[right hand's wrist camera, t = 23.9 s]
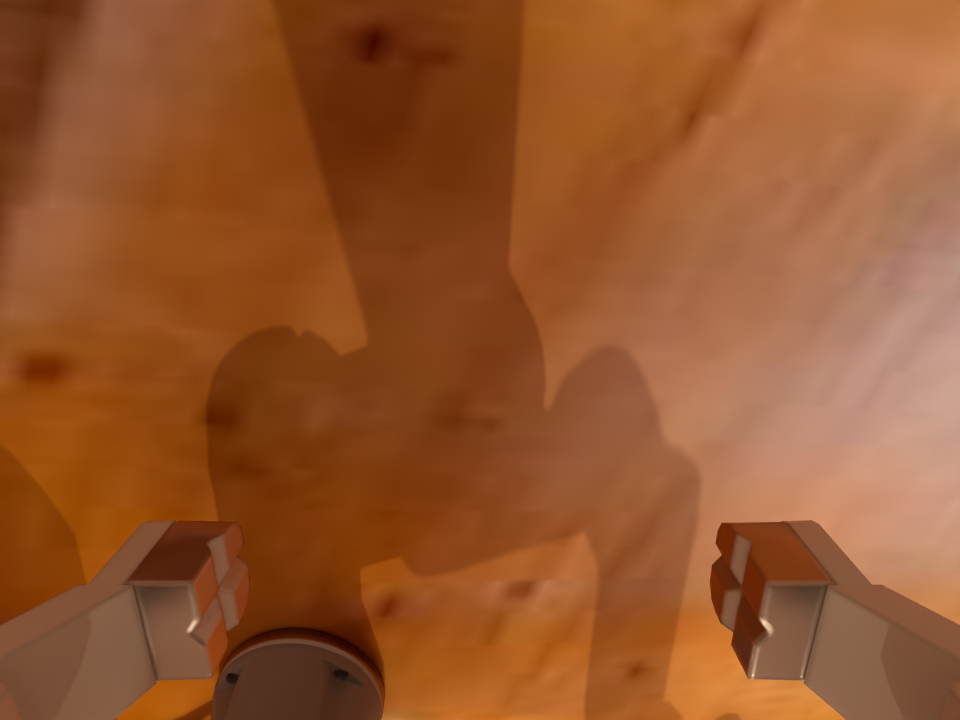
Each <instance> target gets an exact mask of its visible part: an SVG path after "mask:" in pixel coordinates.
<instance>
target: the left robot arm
mask: <svg viewBox="0 0 960 720" xmlns="http://www.w3.org/2000/svg"><path fill="white" fill-rule="evenodd" d="M384 700H385V693H384V686H383V682H382V679H381V677H380V675H379V673H378V671H377V669H376V668H375V666H374V665H373V664H372V662H371V661H370V660H369V659H368V658H367V657H366V656H365V655H364V654H363V653H362V652H361V651H359V650H358V649H357V648H355V647H354V646H352V645H351V644H349V643H347V642H345V641H343V640H341V639H339V638H337V637H334V636H332V635H329V634H325V633H322V632H317V631H312V630H304V629H285V630H277V631H272V632H268V633H264V634H261V635H258V636H256V637H254V638H252V639H250V640H248V641H246V642H245V643H243V644H242V645H241V646H239V647H238V648H237V649H236V650H235V651H234V652H233V653H232V654H231V655H230V657H229V658H228V660H227V661H226V663H225V665H224V667H223V669H222V671H221V674H220V676H219V678H218V680H217V683H216V685H215V690H214V695H213V701H212V711H211V720H381V719H382V713H383V707H384Z"/></svg>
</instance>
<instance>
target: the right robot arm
mask: <svg viewBox="0 0 960 720" xmlns="http://www.w3.org/2000/svg"><path fill="white" fill-rule="evenodd" d="M243 545H244V539H243V534H242V529H241V526H240V525H239V524H237V523H236V522H207V521H178V522H177V521H148V522H145V523H142V524H141V525H140V526H139V527H138V528H137V529H136V530H135V532H134V533H133V534H132V535H131V536H130V537H129V538H128V540H127V541H126V542H125V543H124V544H123V545H122V547H121V548H120V549H119V550H118V551H117V552H116V553H115V555H114V556H113V557H112V558H111V559H110V560H109V561H108V563H107V564H106V565H105V566H104V567H103V568H102V569H101V571H100V572H99V573H98V574H97V575H96V576H95V577H94V579H93V580H92V581H91V582H90V583H89V584H88V585H77V586H75V587H73V588H71V589H69V590H67V591H66V592H64V593H62V594H60V595H58V596H56V597H54V598H52V599H50V600H48V601H46V602H44V603H42V604H40V605H38V606H36V607H34V608H32V609H31V610H29V611H27V612H25V613H23V614H21V615H19V616H17V617H15V618H13V619H11V620H9V621H7V622H5V623H3V624H1V625H0V720H114V719H115V718H116V717H118V716H119V715H120V714H121V713H122V712H123V711H125V710H126V709H127V708H128V707H129V706H130V705H132V704H133V703H134V702H135V701H136V700H138V699H139V698H140V697H141V696H142V695H143V694H145V693H146V692H147V691H148V690H149V689H150V688H152V687H153V686H154V685H155V684H156V680H187V679H212V677H213V675H214V673H215V671H216V669H217V667H218V665H219V663H220V661H221V659H222V657H223V655H224V653H225V651H226V649H227V647H228V645H229V643H228V638H227V632H228V631H229V630H230V629H232V628H233V627H235V626H236V625H237V624H239V623H240V620H241V618H242V616H243V614H244V612H245V610H246V605H247V601H248V596H249V592H250V575H249V569H248V565H247V564H246V563H245V562H244V561H243V560H242V559H241V558H240V557H239V556H238V554H239V552H240V550H241V548H242V547H243ZM716 545H717V547H718V548H719V550H720V552H721V554H722V556H721V557H720V558H719V559H718V560H717V561H716V562H715V563H714V564H713V565H712V569H711V577H710V588H711V599H712V602H713V606H714V609H715V612H716V614H717V616H718V618H719V620H720V623H721V624H723V625H724V626H725V627H727V628H728V629H730V630H731V631H732V632H733V638H732V643H731V645H732V647H733V649H734V651H735V653H736V655H737V657H738V659H739V661H740V663H741V665H742V667H743V669H744V671H745V673H746V675H747V677H748V679H772V680H804V684H805V685H806V686H808V687H809V688H810V689H811V690H812V691H813V692H815V693H816V694H817V695H818V696H819V697H820V698H822V699H823V700H824V701H825V702H826V703H827V704H829V705H830V706H831V707H832V708H833V709H834V710H836V711H837V712H838V713H839V714H840V715H841V716H843V717H844V718H845V719H846V720H960V625H958V624H956V623H955V622H953V621H951V620H949V619H947V618H945V617H943V616H941V615H939V614H937V613H935V612H933V611H931V610H929V609H927V608H925V607H924V606H922V605H920V604H918V603H916V602H914V601H912V600H910V599H908V598H906V597H904V596H902V595H900V594H898V593H896V592H894V591H893V590H891V589H889V588H887V587H885V586H883V585H872V584H871V583H870V582H869V581H868V580H867V579H866V577H865V576H864V575H863V574H862V573H861V572H860V571H859V569H858V568H857V567H856V566H855V565H854V564H853V563H852V561H851V560H850V559H849V558H848V557H847V556H846V555H845V553H844V552H843V551H842V550H841V549H840V548H839V547H838V545H837V544H836V543H835V542H834V541H833V540H832V539H831V537H830V536H829V535H828V534H827V533H826V532H825V531H824V529H823V528H822V527H821V526H820V525H819V524H818V523H816V522H814V521H812V520H808V521H781V522H748V523H721V525H720V527H719V529H718V532H717V538H716Z"/></svg>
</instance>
